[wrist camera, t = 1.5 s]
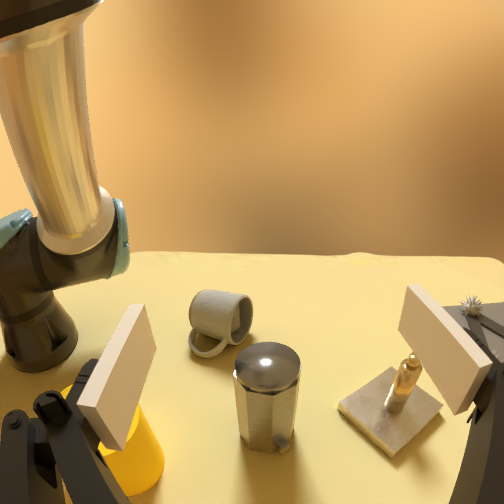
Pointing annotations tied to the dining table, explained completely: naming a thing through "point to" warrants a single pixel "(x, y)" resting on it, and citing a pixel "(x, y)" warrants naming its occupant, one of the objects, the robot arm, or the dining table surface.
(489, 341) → the decorative plate
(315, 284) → the dining table surface
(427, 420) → the square metal stand
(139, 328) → the robot arm
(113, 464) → the tape roll
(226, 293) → the ceramic mug
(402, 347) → the dining table surface
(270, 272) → the dining table surface
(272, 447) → the trash can
